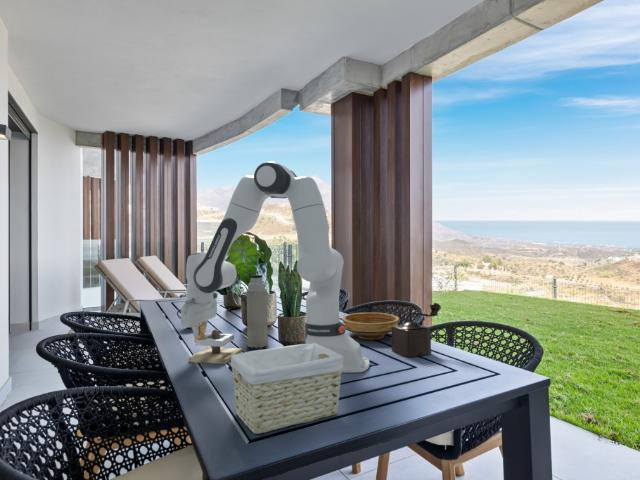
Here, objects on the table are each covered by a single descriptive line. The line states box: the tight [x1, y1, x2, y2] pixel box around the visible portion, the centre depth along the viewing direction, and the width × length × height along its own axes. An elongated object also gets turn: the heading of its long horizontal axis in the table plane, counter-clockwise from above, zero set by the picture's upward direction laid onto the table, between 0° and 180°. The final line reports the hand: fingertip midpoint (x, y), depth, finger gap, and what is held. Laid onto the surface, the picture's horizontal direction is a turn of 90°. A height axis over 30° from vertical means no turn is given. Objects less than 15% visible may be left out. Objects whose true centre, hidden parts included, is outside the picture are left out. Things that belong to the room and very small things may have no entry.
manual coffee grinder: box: [391, 302, 442, 359], centre depth 152 cm, size 16×11×18 cm
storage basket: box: [230, 343, 343, 435], centre depth 100 cm, size 24×16×15 cm
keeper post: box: [188, 328, 243, 365], centre depth 149 cm, size 14×14×10 cm
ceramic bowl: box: [341, 312, 400, 340], centre depth 176 cm, size 30×24×8 cm
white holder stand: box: [194, 324, 235, 348], centre depth 150 cm, size 12×10×6 cm
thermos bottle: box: [246, 274, 269, 348], centre depth 165 cm, size 8×8×28 cm
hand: (199, 334), depth 151 cm, fingers closed on white holder stand, 3 cm apart
